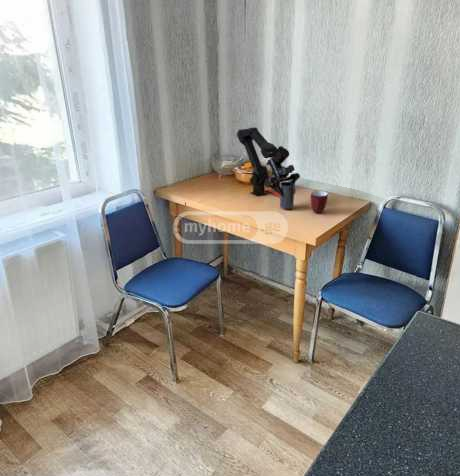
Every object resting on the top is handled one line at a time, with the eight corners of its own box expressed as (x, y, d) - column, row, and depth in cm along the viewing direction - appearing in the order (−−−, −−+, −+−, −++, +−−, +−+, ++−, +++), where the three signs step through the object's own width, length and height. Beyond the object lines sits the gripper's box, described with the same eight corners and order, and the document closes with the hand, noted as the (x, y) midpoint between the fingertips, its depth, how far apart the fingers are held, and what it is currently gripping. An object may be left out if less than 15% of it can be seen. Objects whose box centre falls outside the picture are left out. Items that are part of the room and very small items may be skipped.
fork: (264, 191, 227) (264, 190, 227) (268, 190, 229) (268, 188, 228) (283, 198, 215) (284, 197, 215) (287, 197, 217) (288, 196, 217)
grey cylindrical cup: (277, 205, 203) (278, 183, 198) (286, 202, 207) (288, 180, 202) (286, 209, 198) (287, 187, 193) (296, 206, 202) (297, 184, 197)
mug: (326, 217, 191) (328, 198, 187) (309, 216, 193) (311, 197, 188) (325, 209, 201) (327, 191, 197) (309, 208, 202) (310, 190, 198)
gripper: (268, 162, 191) (280, 190, 187) (299, 157, 200) (311, 184, 196) (259, 173, 201) (270, 201, 197) (289, 168, 209) (300, 194, 205)
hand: (288, 194), depth 198 cm, fingers closed on grey cylindrical cup, 7 cm apart
